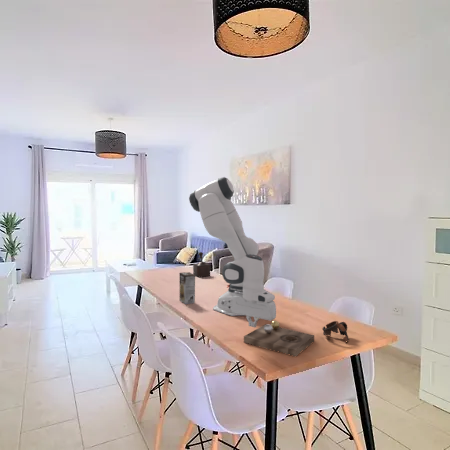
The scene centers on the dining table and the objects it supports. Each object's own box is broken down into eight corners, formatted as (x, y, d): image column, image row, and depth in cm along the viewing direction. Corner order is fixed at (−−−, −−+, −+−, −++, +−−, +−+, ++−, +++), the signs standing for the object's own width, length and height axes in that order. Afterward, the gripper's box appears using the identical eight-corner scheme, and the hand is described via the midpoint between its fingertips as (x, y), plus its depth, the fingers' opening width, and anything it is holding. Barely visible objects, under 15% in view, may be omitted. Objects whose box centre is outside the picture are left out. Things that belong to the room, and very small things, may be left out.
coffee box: (178, 300, 196) (179, 272, 195) (189, 299, 198) (189, 271, 198) (184, 304, 187) (184, 275, 187) (195, 303, 190) (195, 274, 190)
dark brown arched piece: (344, 347, 132) (333, 328, 133) (326, 350, 139) (315, 332, 140) (357, 332, 140) (347, 314, 141) (339, 335, 147) (329, 318, 148)
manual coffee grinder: (211, 276, 268) (211, 253, 267) (199, 277, 262) (199, 254, 261) (201, 273, 281) (201, 251, 280) (189, 274, 275) (189, 252, 274)
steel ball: (262, 333, 137) (262, 324, 137) (266, 330, 140) (266, 322, 140) (270, 335, 135) (270, 326, 135) (274, 332, 138) (274, 324, 138)
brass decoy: (269, 329, 142) (269, 320, 142) (273, 326, 145) (273, 318, 145) (276, 330, 140) (277, 322, 140) (280, 328, 143) (280, 320, 143)
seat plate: (243, 342, 134) (243, 336, 134) (265, 329, 149) (265, 324, 149) (295, 356, 121) (295, 349, 121) (314, 341, 136) (314, 335, 136)
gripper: (228, 291, 145) (228, 323, 145) (270, 299, 133) (270, 334, 133) (236, 288, 150) (236, 319, 150) (278, 296, 138) (277, 329, 138)
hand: (252, 326), depth 142 cm, fingers closed
